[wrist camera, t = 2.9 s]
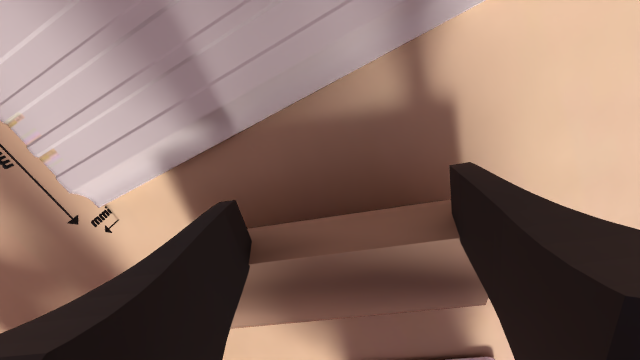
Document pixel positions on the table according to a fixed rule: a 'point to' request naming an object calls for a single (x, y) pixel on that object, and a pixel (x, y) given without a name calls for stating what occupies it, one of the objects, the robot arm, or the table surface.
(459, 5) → the baseboard
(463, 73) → the table surface
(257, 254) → the plank
